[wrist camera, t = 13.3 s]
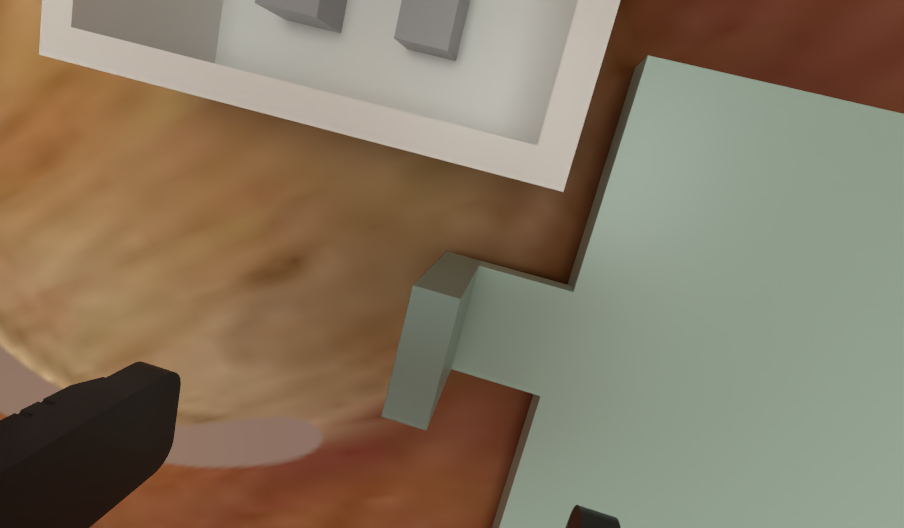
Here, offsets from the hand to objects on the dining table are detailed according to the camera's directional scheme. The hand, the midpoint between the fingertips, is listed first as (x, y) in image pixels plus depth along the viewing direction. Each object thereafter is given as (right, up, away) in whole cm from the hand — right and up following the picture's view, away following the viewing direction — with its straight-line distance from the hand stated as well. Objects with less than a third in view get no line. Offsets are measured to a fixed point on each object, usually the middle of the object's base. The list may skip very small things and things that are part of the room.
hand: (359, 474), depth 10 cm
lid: (+12, 0, +12) cm, 17 cm away
